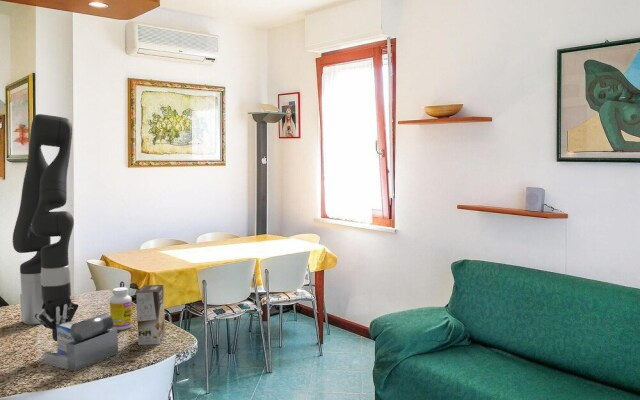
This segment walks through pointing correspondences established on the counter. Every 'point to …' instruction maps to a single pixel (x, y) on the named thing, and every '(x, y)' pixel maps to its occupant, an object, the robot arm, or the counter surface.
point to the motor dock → (87, 344)
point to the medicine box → (63, 337)
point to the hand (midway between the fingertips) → (58, 340)
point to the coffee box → (150, 314)
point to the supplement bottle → (121, 309)
